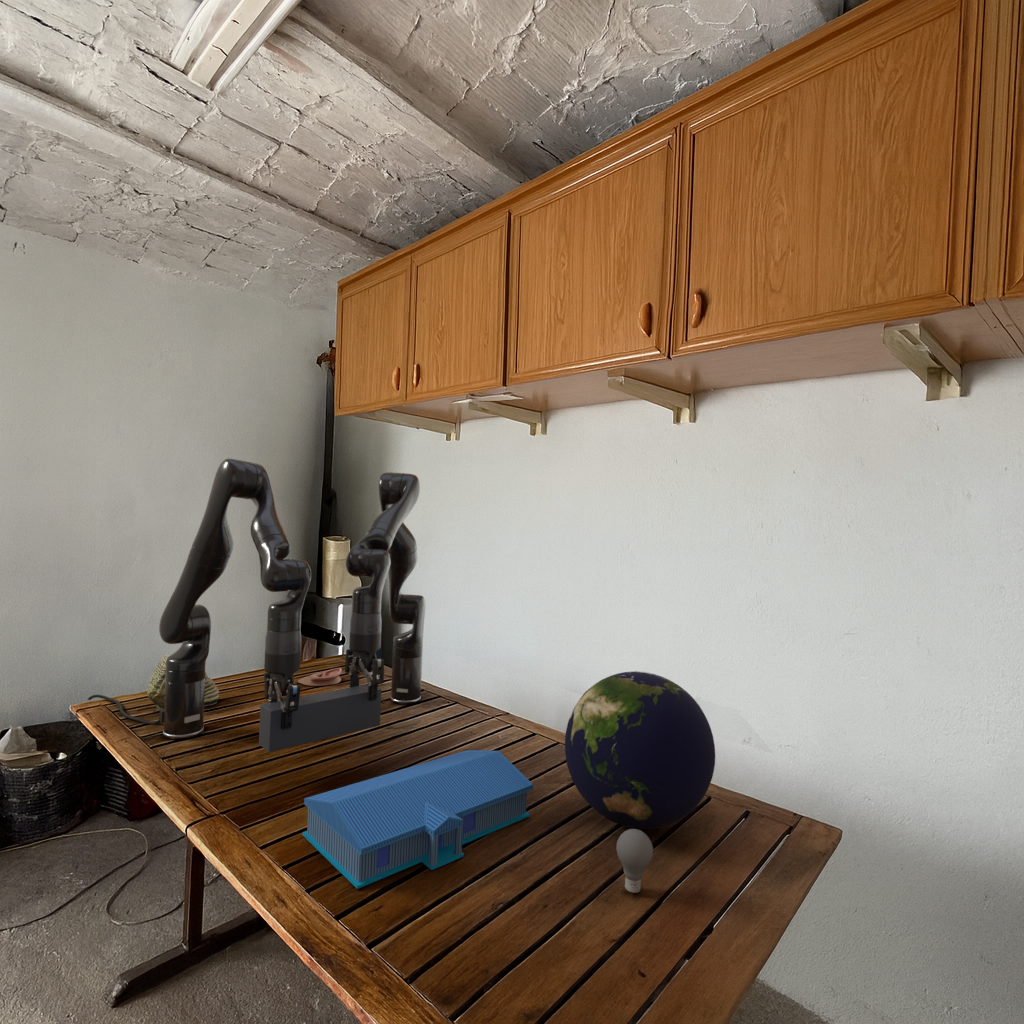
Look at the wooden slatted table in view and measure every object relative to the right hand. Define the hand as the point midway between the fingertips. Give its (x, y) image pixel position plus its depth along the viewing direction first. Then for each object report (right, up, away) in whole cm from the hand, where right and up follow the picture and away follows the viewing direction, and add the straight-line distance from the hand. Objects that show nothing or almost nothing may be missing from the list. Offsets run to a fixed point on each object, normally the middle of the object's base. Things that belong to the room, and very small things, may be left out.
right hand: (362, 696), depth 155 cm
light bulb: (+57, -18, -49) cm, 77 cm away
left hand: (-15, -2, -14) cm, 21 cm away
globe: (+61, -18, -25) cm, 69 cm away
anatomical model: (-29, -13, +60) cm, 68 cm away
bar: (-8, -7, -7) cm, 12 cm away
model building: (+20, -17, -32) cm, 41 cm away
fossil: (-60, -12, +30) cm, 68 cm away
